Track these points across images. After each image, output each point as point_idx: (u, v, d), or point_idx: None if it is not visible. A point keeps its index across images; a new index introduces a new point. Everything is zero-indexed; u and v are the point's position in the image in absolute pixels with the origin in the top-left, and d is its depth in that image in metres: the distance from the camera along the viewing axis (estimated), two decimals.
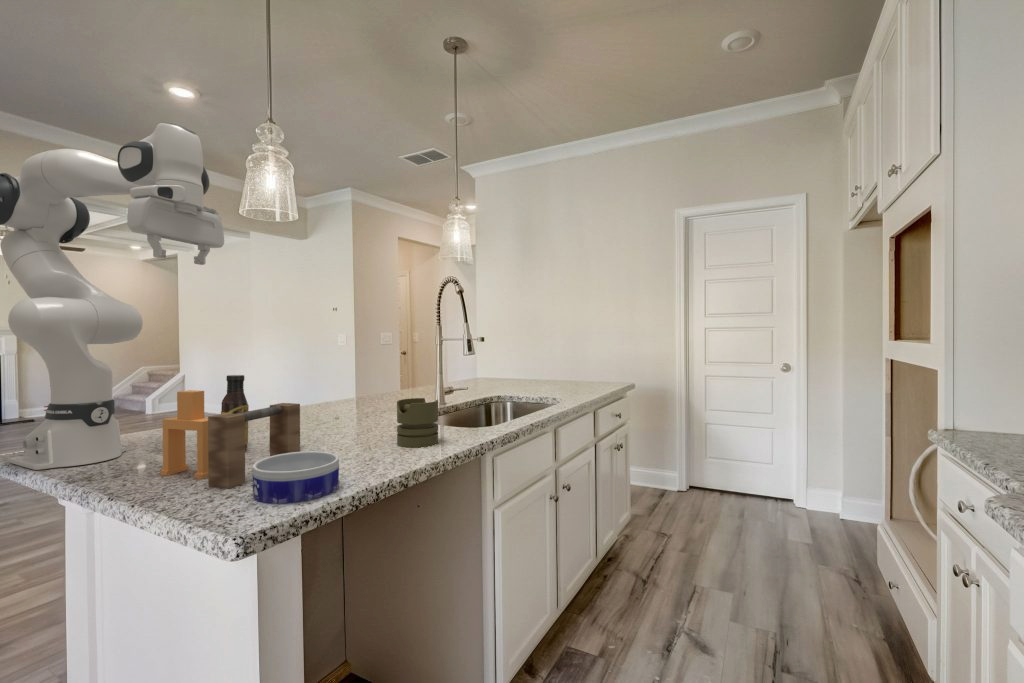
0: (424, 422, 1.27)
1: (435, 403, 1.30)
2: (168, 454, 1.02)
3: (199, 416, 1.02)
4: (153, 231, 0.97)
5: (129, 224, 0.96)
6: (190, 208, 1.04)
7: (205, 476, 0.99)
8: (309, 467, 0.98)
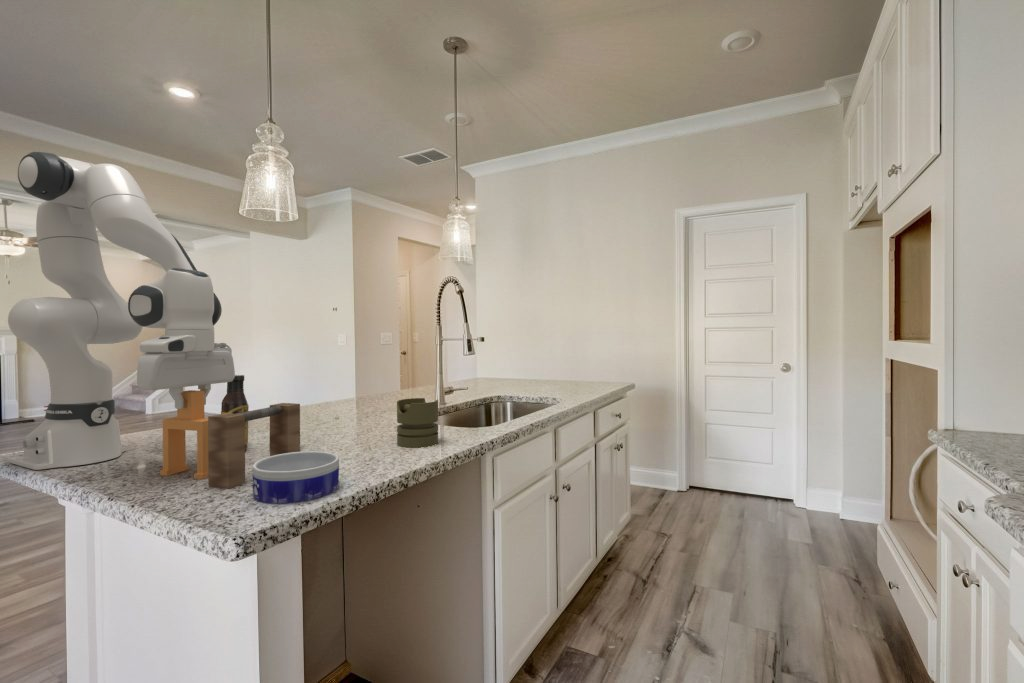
0: (424, 422, 1.27)
1: (435, 403, 1.30)
2: (168, 454, 1.02)
3: (199, 416, 1.02)
4: (163, 387, 0.95)
5: (139, 383, 0.93)
6: (201, 354, 1.01)
7: (205, 476, 0.99)
8: (309, 467, 0.98)
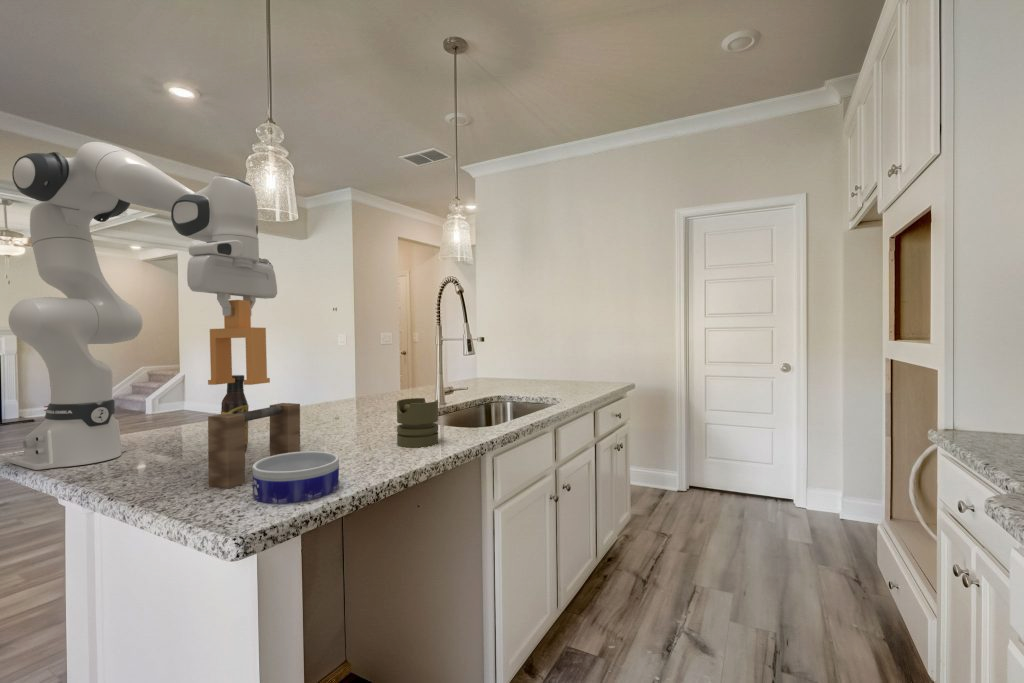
0: (424, 422, 1.27)
1: (435, 403, 1.30)
2: (216, 363, 1.01)
3: (245, 325, 1.02)
4: (213, 289, 0.94)
5: (189, 284, 0.93)
6: (247, 262, 1.01)
7: (254, 382, 0.99)
8: (309, 467, 0.98)
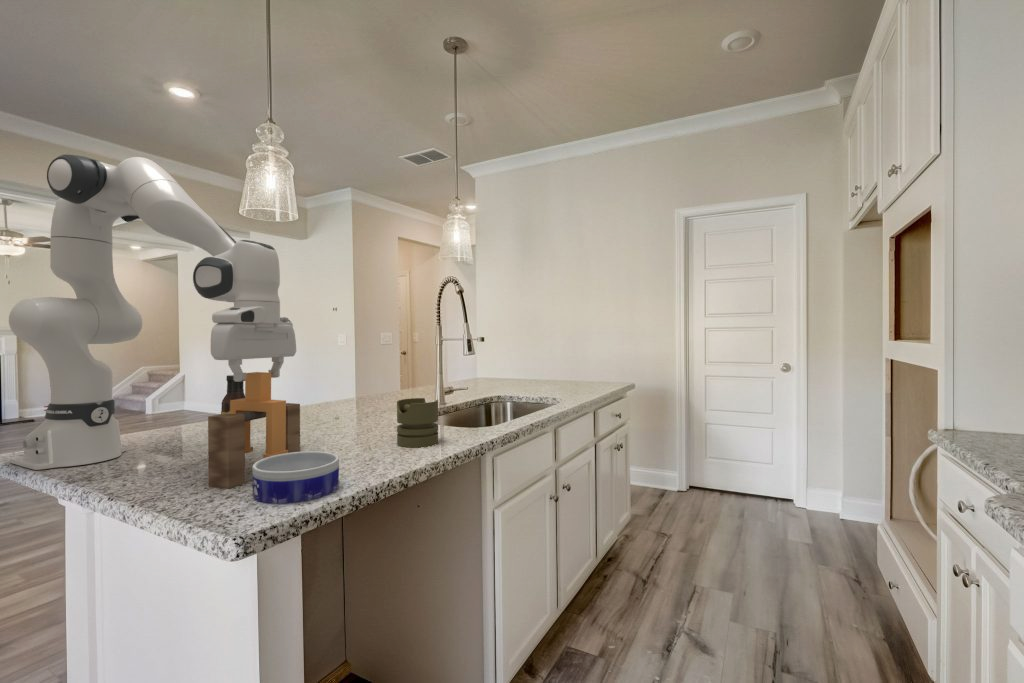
0: (424, 422, 1.27)
1: (435, 403, 1.30)
2: None
3: (266, 397, 1.02)
4: (236, 358, 0.95)
5: (213, 353, 0.93)
6: (268, 326, 1.01)
7: None
8: (309, 467, 0.98)
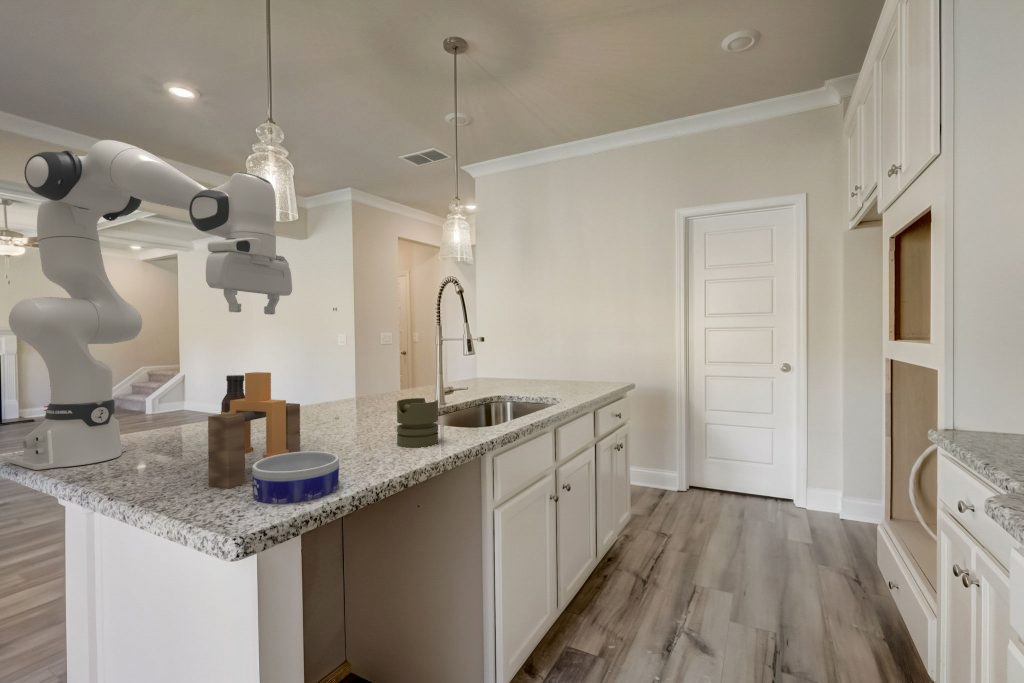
0: (424, 422, 1.27)
1: (435, 403, 1.30)
2: None
3: (266, 397, 1.02)
4: (231, 286, 0.95)
5: (208, 280, 0.93)
6: (264, 259, 1.01)
7: None
8: (309, 467, 0.98)
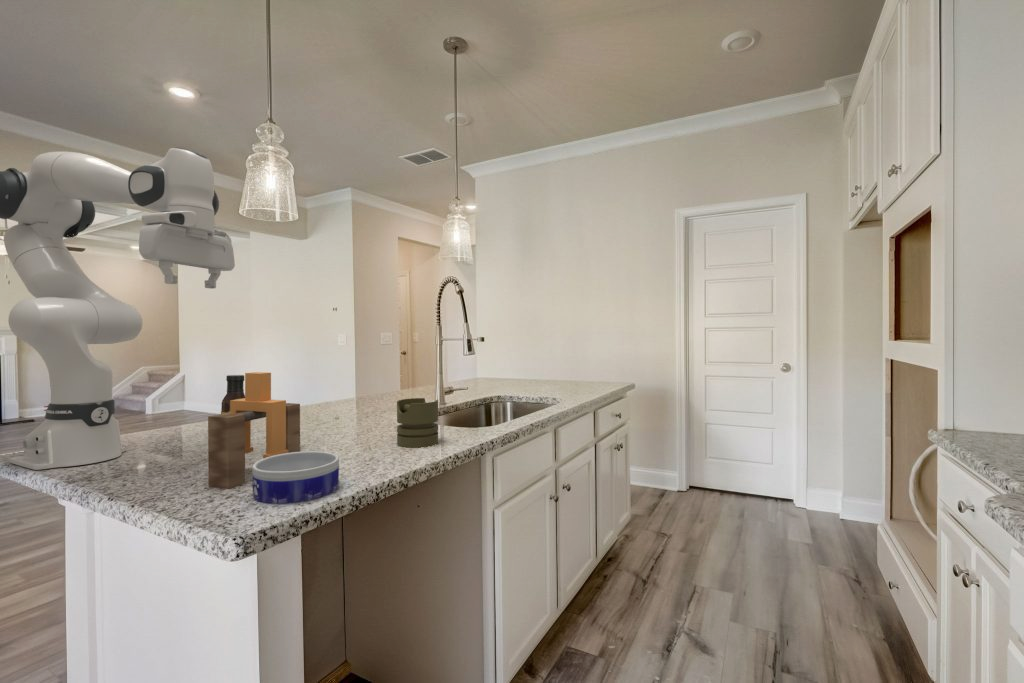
0: (424, 422, 1.27)
1: (435, 403, 1.30)
2: None
3: (266, 397, 1.02)
4: (165, 258, 0.97)
5: (141, 251, 0.95)
6: (201, 233, 1.03)
7: None
8: (309, 467, 0.98)
